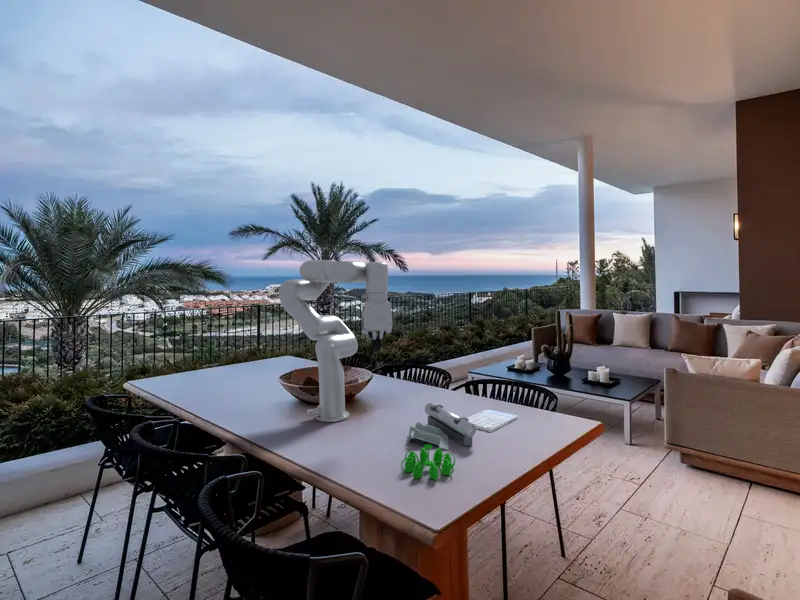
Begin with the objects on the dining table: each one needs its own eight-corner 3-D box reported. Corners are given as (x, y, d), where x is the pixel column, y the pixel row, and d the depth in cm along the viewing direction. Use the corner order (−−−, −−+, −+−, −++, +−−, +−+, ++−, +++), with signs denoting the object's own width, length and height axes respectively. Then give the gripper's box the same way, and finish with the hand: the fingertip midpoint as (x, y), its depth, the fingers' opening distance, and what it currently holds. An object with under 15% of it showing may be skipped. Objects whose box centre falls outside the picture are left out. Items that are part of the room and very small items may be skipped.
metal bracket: (408, 431, 131) (412, 416, 146) (403, 449, 131) (408, 432, 146) (454, 445, 130) (453, 429, 145) (448, 463, 130) (448, 445, 145)
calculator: (458, 425, 154) (458, 420, 154) (487, 412, 168) (487, 407, 168) (490, 433, 145) (490, 428, 145) (518, 419, 159) (518, 414, 159)
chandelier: (407, 486, 108) (406, 459, 108) (396, 462, 123) (395, 438, 122) (464, 480, 111) (463, 453, 110) (447, 457, 125) (446, 433, 125)
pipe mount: (464, 448, 131) (463, 424, 131) (424, 423, 155) (424, 403, 155) (476, 445, 133) (475, 422, 133) (435, 421, 157) (435, 401, 156)
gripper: (359, 298, 143) (359, 353, 144) (400, 298, 148) (400, 350, 149) (353, 297, 149) (352, 349, 151) (393, 296, 155) (392, 347, 156)
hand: (376, 350), depth 150 cm, fingers closed
